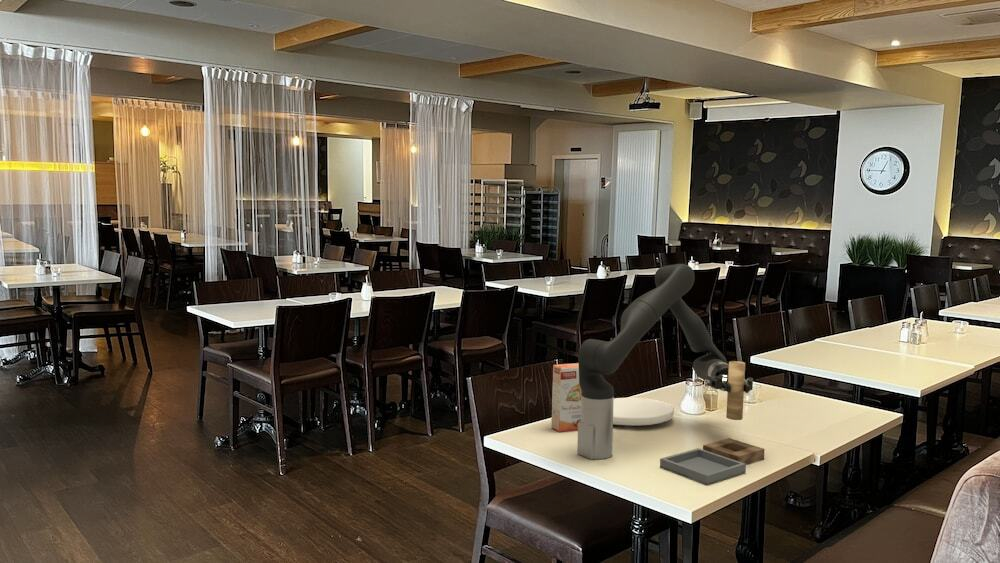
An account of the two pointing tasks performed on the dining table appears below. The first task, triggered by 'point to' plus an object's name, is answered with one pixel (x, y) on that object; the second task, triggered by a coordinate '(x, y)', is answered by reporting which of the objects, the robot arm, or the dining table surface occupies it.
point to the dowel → (735, 390)
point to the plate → (641, 411)
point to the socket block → (736, 450)
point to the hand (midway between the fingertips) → (738, 389)
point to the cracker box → (566, 397)
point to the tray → (703, 466)
